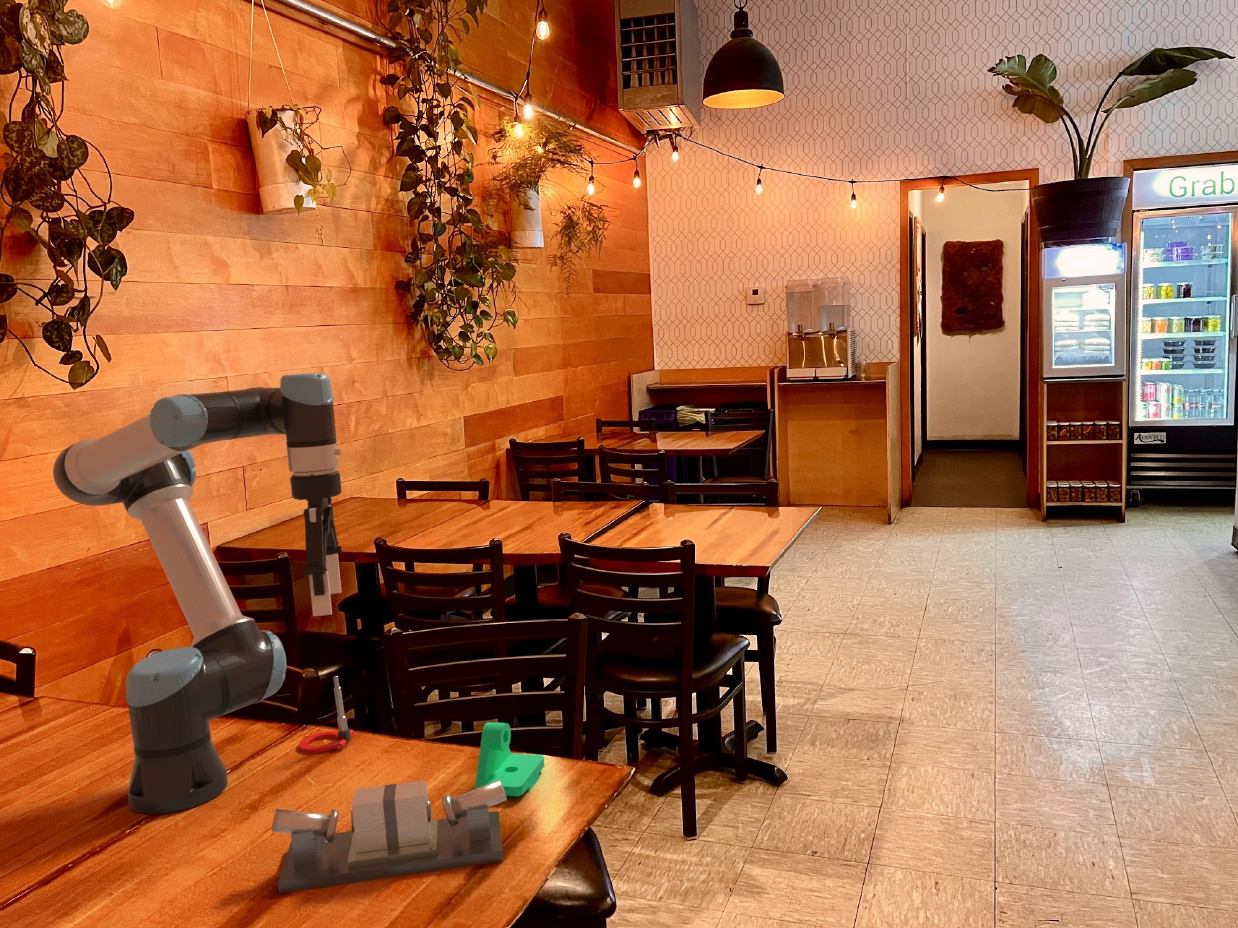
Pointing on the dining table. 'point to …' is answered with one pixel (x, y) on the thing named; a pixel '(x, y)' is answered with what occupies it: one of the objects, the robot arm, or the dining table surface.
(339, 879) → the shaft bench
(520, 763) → the camera mount
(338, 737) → the tow hook
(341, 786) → the dining table surface
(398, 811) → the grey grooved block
